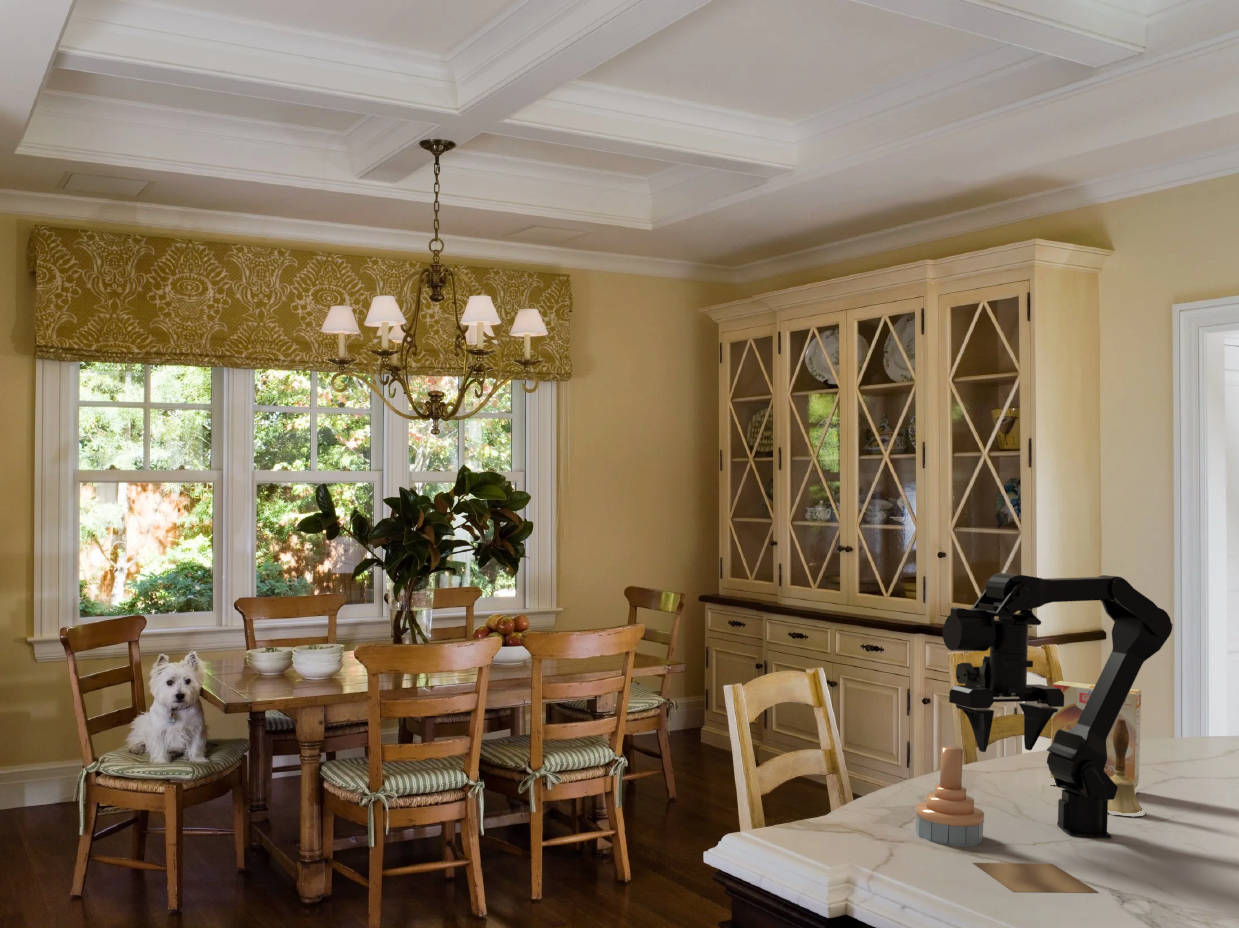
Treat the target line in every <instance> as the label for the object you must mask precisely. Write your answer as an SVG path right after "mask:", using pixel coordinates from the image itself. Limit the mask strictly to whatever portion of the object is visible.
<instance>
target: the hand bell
mask: <svg viewBox="0 0 1239 928" xmlns="http://www.w3.org/2000/svg"><path fill="white" fill-rule="evenodd" d="M1128 744H1129V733H1128V729H1127V726H1126V721H1125V720H1123V719H1118V720H1117V723H1116V726H1115V729H1114V732H1113V745H1114V749H1115V754H1116V760H1115V766H1116V767H1115V774H1114V776H1112V777H1110V779H1111V780H1112V781H1113V782H1114V783H1115V784H1116V786H1117V787H1118V789H1117V792H1116V795H1115V798H1114V800H1108V810H1110V811H1117V812H1121V813H1137V812H1139V811H1142V809H1143V807H1141V805H1140V803H1139V801H1138V799H1137V796H1136V795H1135V791H1134V783H1133V782H1132V781H1131V780H1129V779H1128V778H1127V777H1126V776H1125V755H1126V752H1127V749H1128Z"/></svg>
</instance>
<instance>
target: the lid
mask: <svg viewBox="0 0 1239 928" xmlns="http://www.w3.org/2000/svg"><path fill="white" fill-rule="evenodd" d="M963 752H964V749H963V748H961V747H957V746H952V745H943V746H940V771H939V772H940V775H939V776H940V778H939V783H937V784H935V785H934V791H931V792H928V793H927V794H926V801H925V800H924V801H920V802H918V803H917V804H916V806H915V807H916V808H915V814H916V815H917V816H918V817H920V818H922V819H924V820H927V821H930V822H934V823H938V824H944V825H951V826H977V825H981V824H983V825H984V823H985V812H984V811H983V810H982V809H980V808H977V807H975V799H974V798H973V797H972V796H969V795H967V788H966V787H964V786H963V782H962V781H963V758H964V757H963V754H964V753H963ZM916 815H915V816H916Z"/></svg>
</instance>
